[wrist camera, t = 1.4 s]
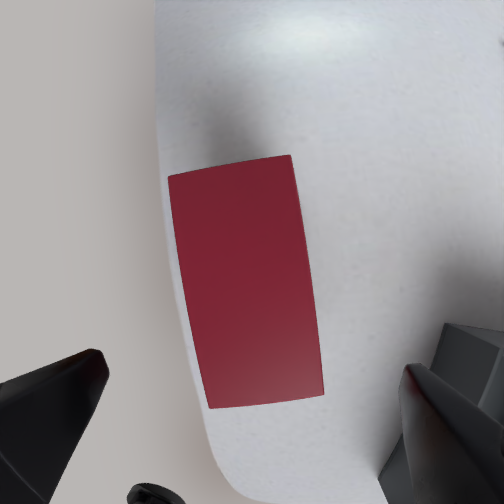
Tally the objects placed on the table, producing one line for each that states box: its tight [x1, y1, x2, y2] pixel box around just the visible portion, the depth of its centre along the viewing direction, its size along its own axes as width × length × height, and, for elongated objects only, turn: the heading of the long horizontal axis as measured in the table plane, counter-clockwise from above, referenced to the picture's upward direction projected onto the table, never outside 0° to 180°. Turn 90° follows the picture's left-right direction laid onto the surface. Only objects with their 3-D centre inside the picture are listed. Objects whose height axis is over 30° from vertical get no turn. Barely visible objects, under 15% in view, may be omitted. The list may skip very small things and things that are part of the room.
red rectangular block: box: [168, 155, 324, 409], centre depth 14 cm, size 10×5×4 cm, turn 9°
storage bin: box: [378, 323, 504, 504], centre depth 19 cm, size 19×19×9 cm
